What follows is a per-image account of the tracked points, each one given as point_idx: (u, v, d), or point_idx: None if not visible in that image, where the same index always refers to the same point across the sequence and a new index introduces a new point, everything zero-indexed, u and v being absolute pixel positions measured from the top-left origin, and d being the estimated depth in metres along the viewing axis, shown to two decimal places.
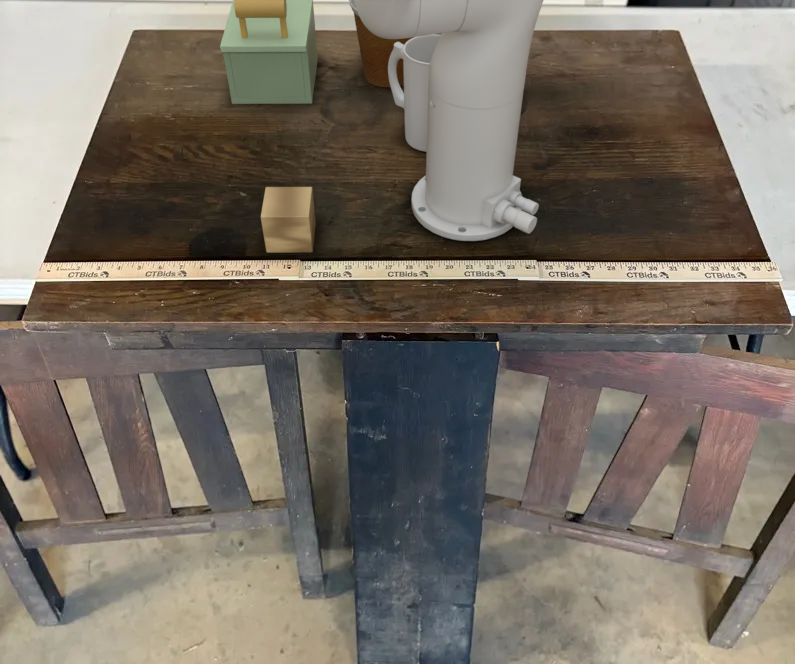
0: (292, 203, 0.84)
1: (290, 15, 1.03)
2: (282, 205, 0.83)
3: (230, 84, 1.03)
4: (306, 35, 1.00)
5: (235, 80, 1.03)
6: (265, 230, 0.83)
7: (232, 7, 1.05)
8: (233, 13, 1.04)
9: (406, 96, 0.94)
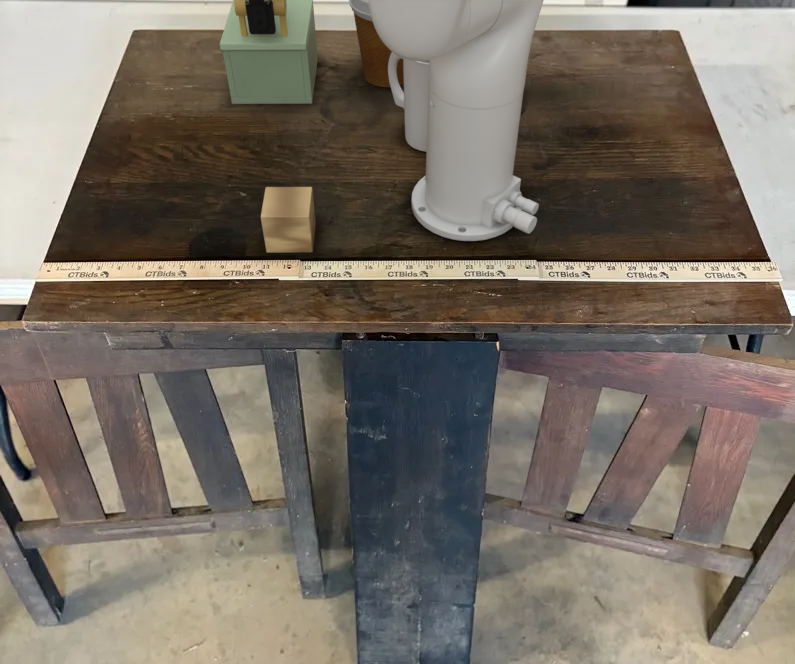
0: (292, 203, 0.84)
1: (290, 14, 1.03)
2: (282, 205, 0.83)
3: (230, 84, 1.03)
4: (306, 33, 1.00)
5: (235, 80, 1.03)
6: (265, 230, 0.83)
7: (232, 7, 1.05)
8: (233, 12, 1.04)
9: (406, 96, 0.94)
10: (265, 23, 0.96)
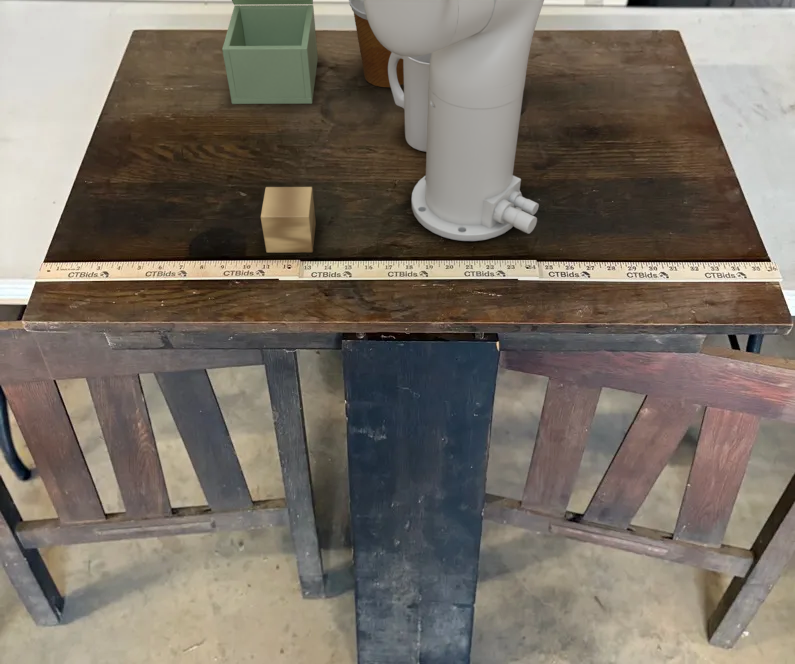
0: (292, 203, 0.84)
1: None
2: (282, 205, 0.83)
3: (230, 84, 1.03)
4: None
5: (235, 80, 1.03)
6: (265, 230, 0.83)
7: None
8: None
9: (406, 96, 0.94)
10: None
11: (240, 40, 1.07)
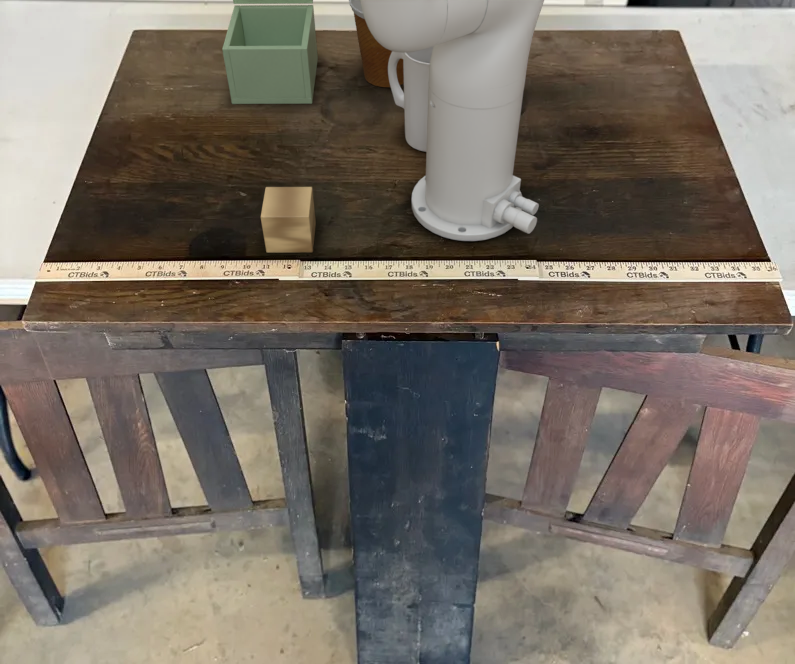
0: (292, 203, 0.84)
1: None
2: (282, 205, 0.83)
3: (230, 84, 1.03)
4: None
5: (235, 80, 1.03)
6: (265, 230, 0.83)
7: None
8: None
9: (406, 96, 0.94)
10: None
11: (240, 40, 1.07)
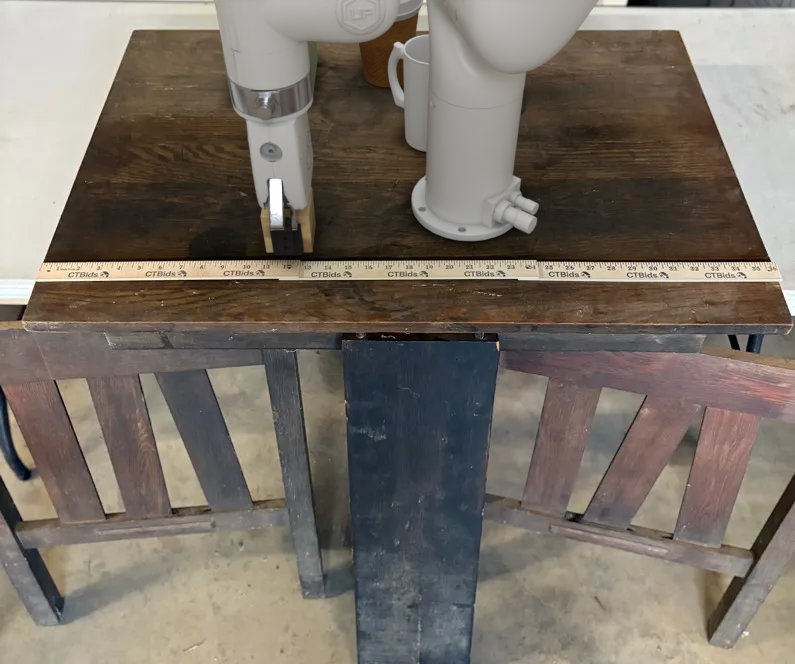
0: None
1: None
2: None
3: None
4: None
5: None
6: (265, 230, 0.83)
7: None
8: None
9: (406, 96, 0.94)
10: (292, 247, 0.84)
11: None
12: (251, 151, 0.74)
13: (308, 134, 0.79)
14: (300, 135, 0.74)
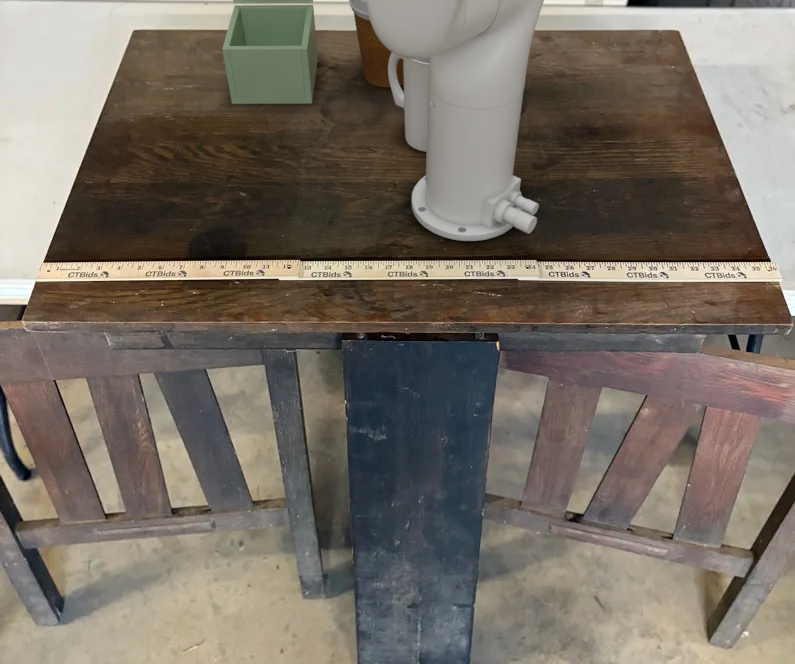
0: None
1: None
2: None
3: (230, 84, 1.03)
4: None
5: (235, 80, 1.03)
6: None
7: None
8: None
9: (406, 96, 0.94)
10: None
11: (240, 40, 1.07)
12: None
13: None
14: None
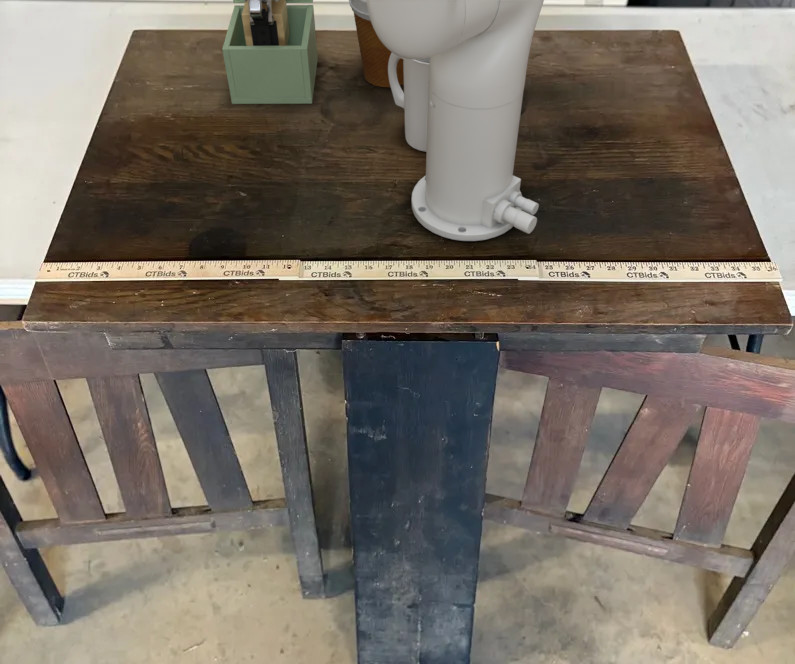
0: None
1: None
2: None
3: (230, 84, 1.03)
4: None
5: (235, 80, 1.03)
6: (246, 28, 1.00)
7: None
8: None
9: (406, 96, 0.94)
10: (269, 42, 1.00)
11: (240, 40, 1.07)
12: None
13: None
14: None
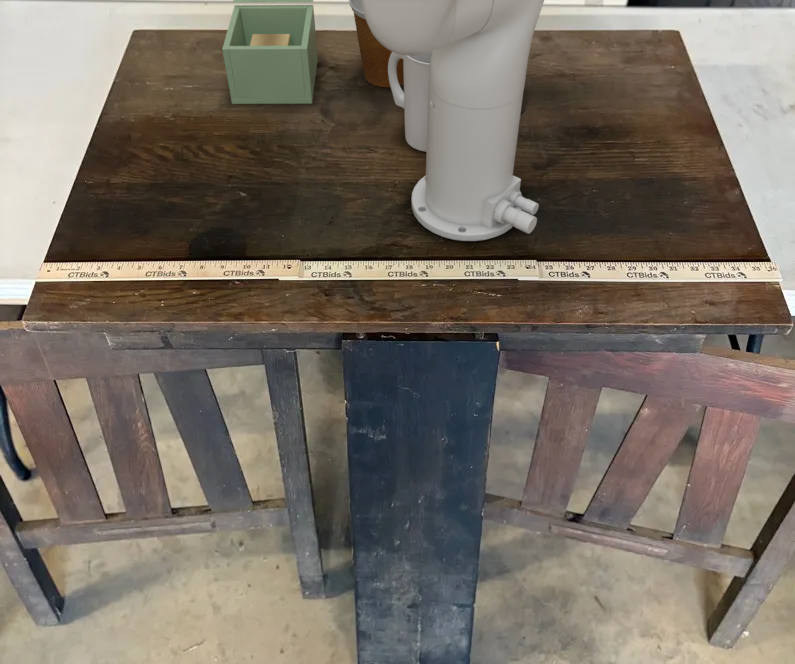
0: (273, 44, 1.04)
1: None
2: (265, 45, 1.04)
3: (230, 84, 1.03)
4: None
5: (235, 80, 1.03)
6: None
7: None
8: None
9: (406, 96, 0.94)
10: None
11: (240, 40, 1.07)
12: None
13: None
14: None
